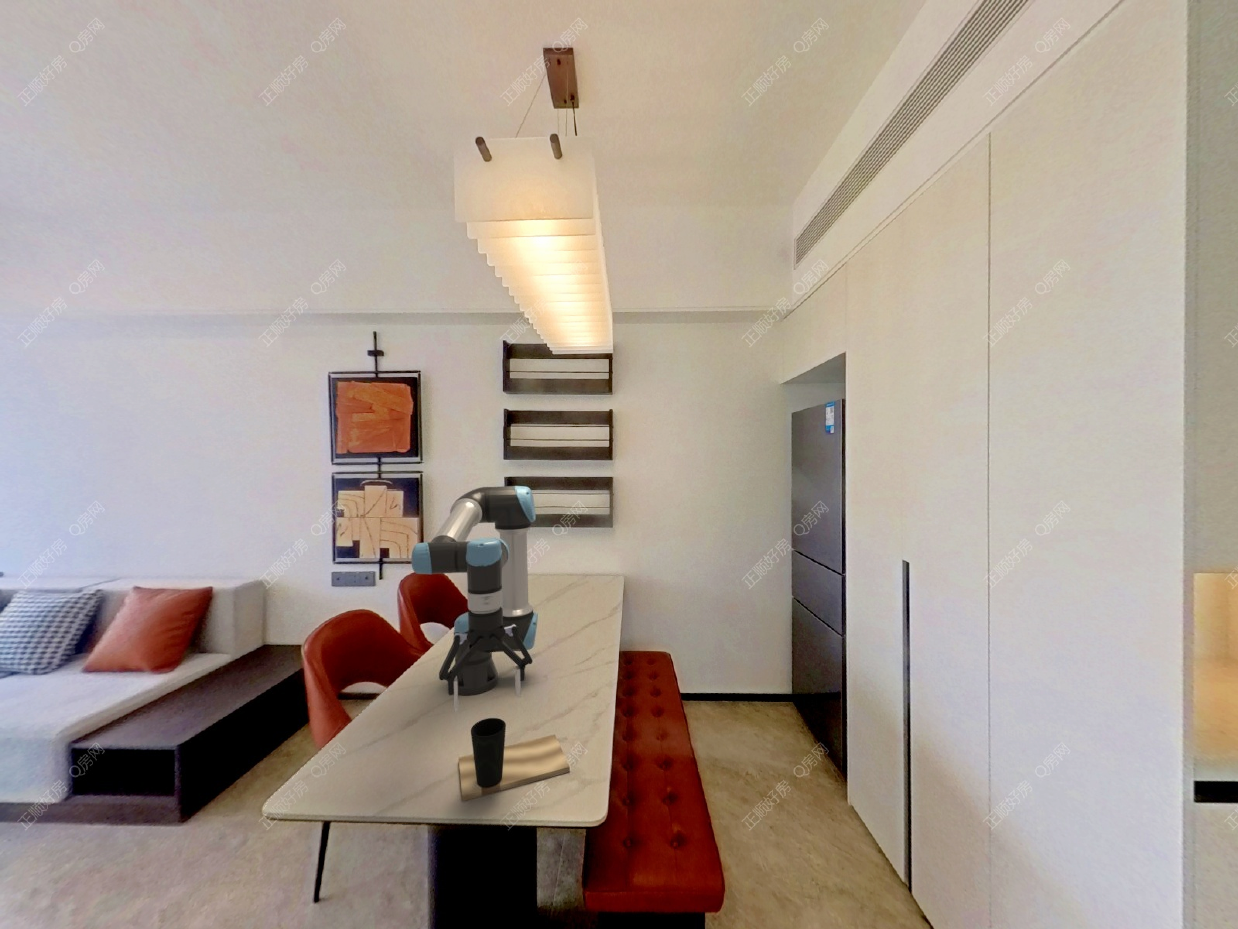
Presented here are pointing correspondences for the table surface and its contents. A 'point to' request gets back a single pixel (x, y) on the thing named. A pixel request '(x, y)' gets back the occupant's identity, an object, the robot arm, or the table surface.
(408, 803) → the table surface
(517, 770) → the panel
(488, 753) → the cup
